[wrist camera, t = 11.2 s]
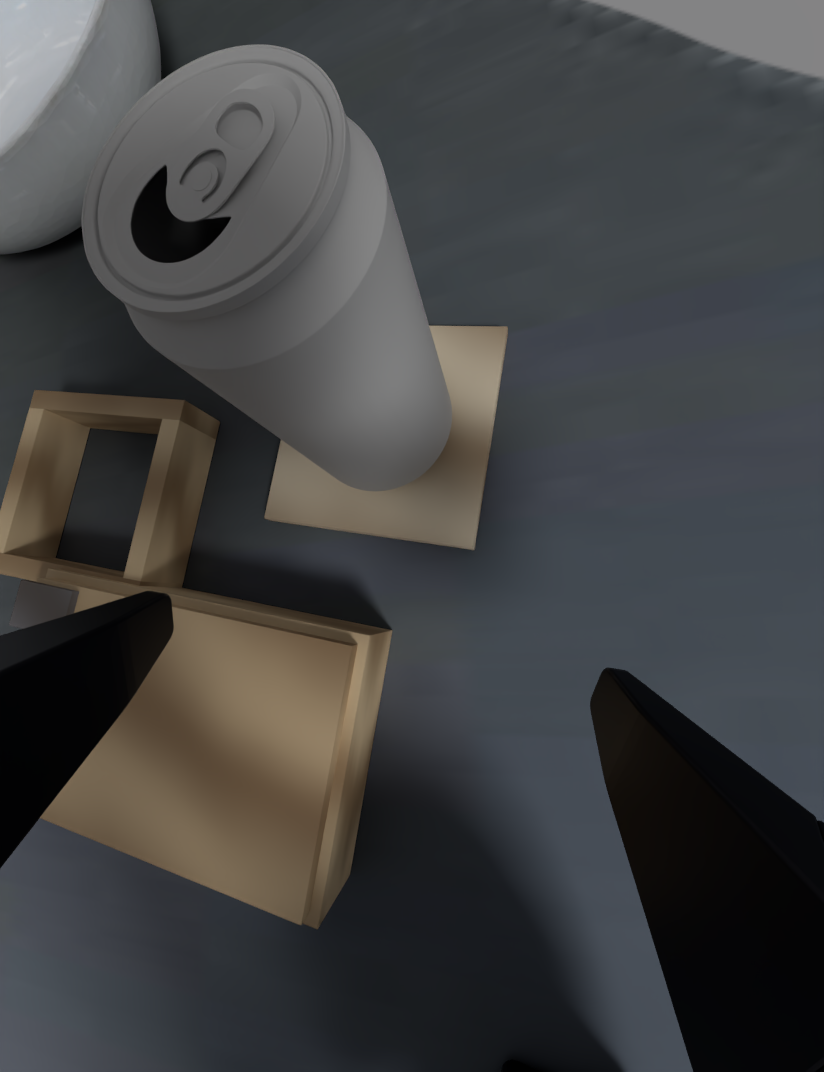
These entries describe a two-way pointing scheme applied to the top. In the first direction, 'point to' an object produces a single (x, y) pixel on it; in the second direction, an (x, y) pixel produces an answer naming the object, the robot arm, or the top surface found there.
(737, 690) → the top surface
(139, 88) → the serving bowl
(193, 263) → the beverage can
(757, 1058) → the robot arm
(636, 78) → the top surface
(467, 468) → the cork mat
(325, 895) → the wooden notched board
